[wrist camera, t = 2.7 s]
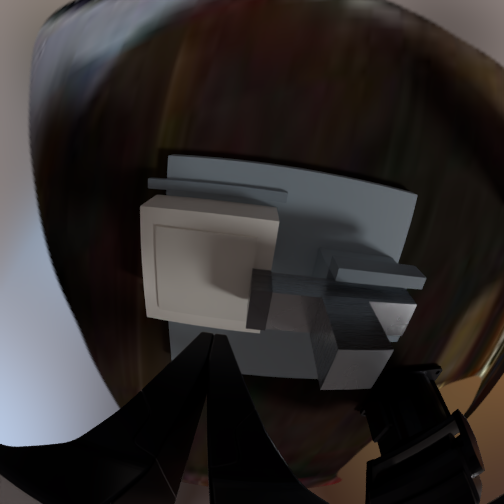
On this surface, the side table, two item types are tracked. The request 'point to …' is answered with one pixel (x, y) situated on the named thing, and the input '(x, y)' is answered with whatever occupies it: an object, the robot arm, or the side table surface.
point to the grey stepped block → (333, 322)
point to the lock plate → (301, 242)
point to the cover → (203, 258)
